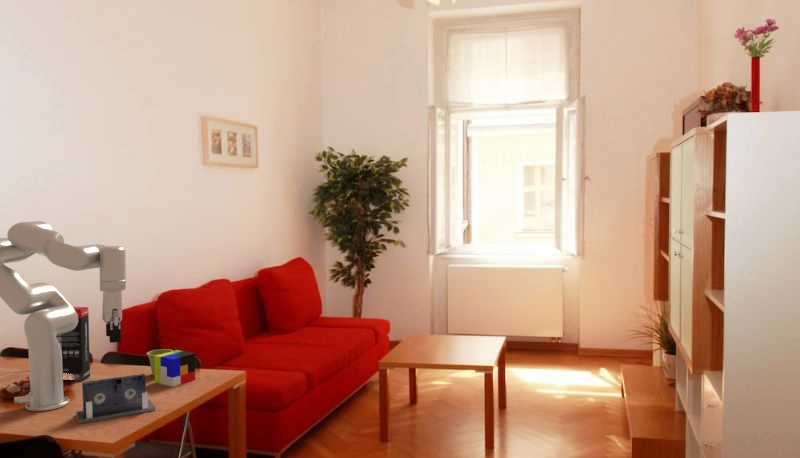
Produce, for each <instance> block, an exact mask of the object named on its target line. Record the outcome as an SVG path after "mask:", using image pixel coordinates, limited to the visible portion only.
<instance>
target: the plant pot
mask: <svg viewBox="0 0 800 458" xmlns="http://www.w3.org/2000/svg"><path fill="white" fill-rule="evenodd" d="M171 351H173V350H172V349H169V348H168V349H165V348H163V349H154V350H150V351H148V352H146V355H147V357H148V359H149V364H150V369H151V370H150V371H151V375H152V376H154V377H155V360H154V356H156V355H160V354H163V353H167V352H171Z"/></svg>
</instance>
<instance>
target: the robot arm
mask: <svg viewBox="0 0 800 458" xmlns="http://www.w3.org/2000/svg"><path fill="white" fill-rule="evenodd" d="M6 235H7V237H0V298H1V299H2V301H3V302H4V303H5V304H6V305H7V306H8V307H9V308H10V310H12V312H14V313H15V314H17V315H20V316H21V315H22V316H23V315H24V316H25V315H27V317H26V318H25V320H24V322H23V330H24V334H25V337H26V341H27V347H28V348H27V349H28V367H29V368H28V369H29V392H28V394H25V396H14V399H13V403H14V404H18V405H21V404H25V408H24V409H25V410H27V411H30V412H43V411H51V410H56V409H59V408H62V407H64V406H67V405H68V404H69V403H70V399H69V397H67V396H64V381H63V369H62V350H61V346H60V344H59V342H58V340H57V338H56V336H58V335H61V334H64V333H67V332H70V331H72V330H73V329H74V328H75V327H76V326H77V324H78V315H77V313H76V311H75V309H74V308H73V307H74V306H72V304H70V302H69V301H68V300H67V299H66V298H65V297H64V296H63V294H62V293H60V291H59V290H58V289H57V288H56V287H55V286H53V285H52V284H50V283H47V282H37V283H36V282H35V283H28V282H27V281H26V280H24V279H23V277H22V276H21V275H20V274H19V273H18V272H17V271H15V270H14V269H13V268H10V267H9V266H7V265H6V264H11V263H16V262H17V263H18V262H21V261H24V260H26V259H28V258H29V257H32V256H34V255H35V254H37V255H40V256H44V257H46V258H47V260H48V261H49V262H50V263H51V264H53V265H56V266H58V267H60V268H64V269H67V270H71V271H75V272H76V271H77V272H78V271H80V272H81V271H87V270H91V269H98V268H99V291H100V292H102V312H101V313H102V314H101V316H102V318H101V319H102V320H103V322H104V323H105V336H106V337H109V343H111V344H113V343H121V341H122V328H121V321H122V319H123V292H124V291H126V290H127V289H126V288H127V287H126V286H127V285H126V284H127V283H126V282H127V281H126V280H127V279H126V278H127V276H126V274H127V273H126V272H127V271H126V249H125V248H124V247H123V246H119V245H109V246H108V245H104V244H90V245H88V244H86V245H78V246H76V245H72V244H68V243H65V239H64V235H62V233H61V232H58V231H55V230H54V227H52V225H50V224H49V223H48V222H45V221H39V220H37V221H22V222H18V223H14V224H13V225H11V227H9V229H8V230H7V234H6Z"/></svg>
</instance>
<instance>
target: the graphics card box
mask: <svg viewBox="0 0 800 458" xmlns="http://www.w3.org/2000/svg"><path fill="white" fill-rule="evenodd" d="M72 307H73V308H74V309H75V311H76V313H77V315H78V324H77V326H76V327H75V328H74V329H73V330H72V331H70V332H67V333H64V334H61V335H58V336H56V338H57V340H58V342H59V344H60V346H61V350H62V369H63V373H67V374H68V373H69V374H70V373H71V374H73V375H74V377H75V381H74V382H84V381H85V380H86V379H89V377H91V361H90V359H91V357H90V327H89V326H90V324H89V323H90V321H89V320H90V319H89V314H90V313H89V307H87V306H72Z"/></svg>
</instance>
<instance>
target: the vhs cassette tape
mask: <svg viewBox="0 0 800 458" xmlns="http://www.w3.org/2000/svg"><path fill="white" fill-rule="evenodd" d="M146 377H147V376H146V375H145V373H139V374H132V375H127V376H117V377H109V378H104V379H103V378H102V379H97V380H87V381H82V384H81V385H82V411H83V413H84V415H85V416H86V401H89V400H92V414H98V413H104V412H110V411H116V410H123V409H128V408H135V407H141V406H142V405H141V392H147V388H146V387H147V386H146V384H147V383H146Z"/></svg>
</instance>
